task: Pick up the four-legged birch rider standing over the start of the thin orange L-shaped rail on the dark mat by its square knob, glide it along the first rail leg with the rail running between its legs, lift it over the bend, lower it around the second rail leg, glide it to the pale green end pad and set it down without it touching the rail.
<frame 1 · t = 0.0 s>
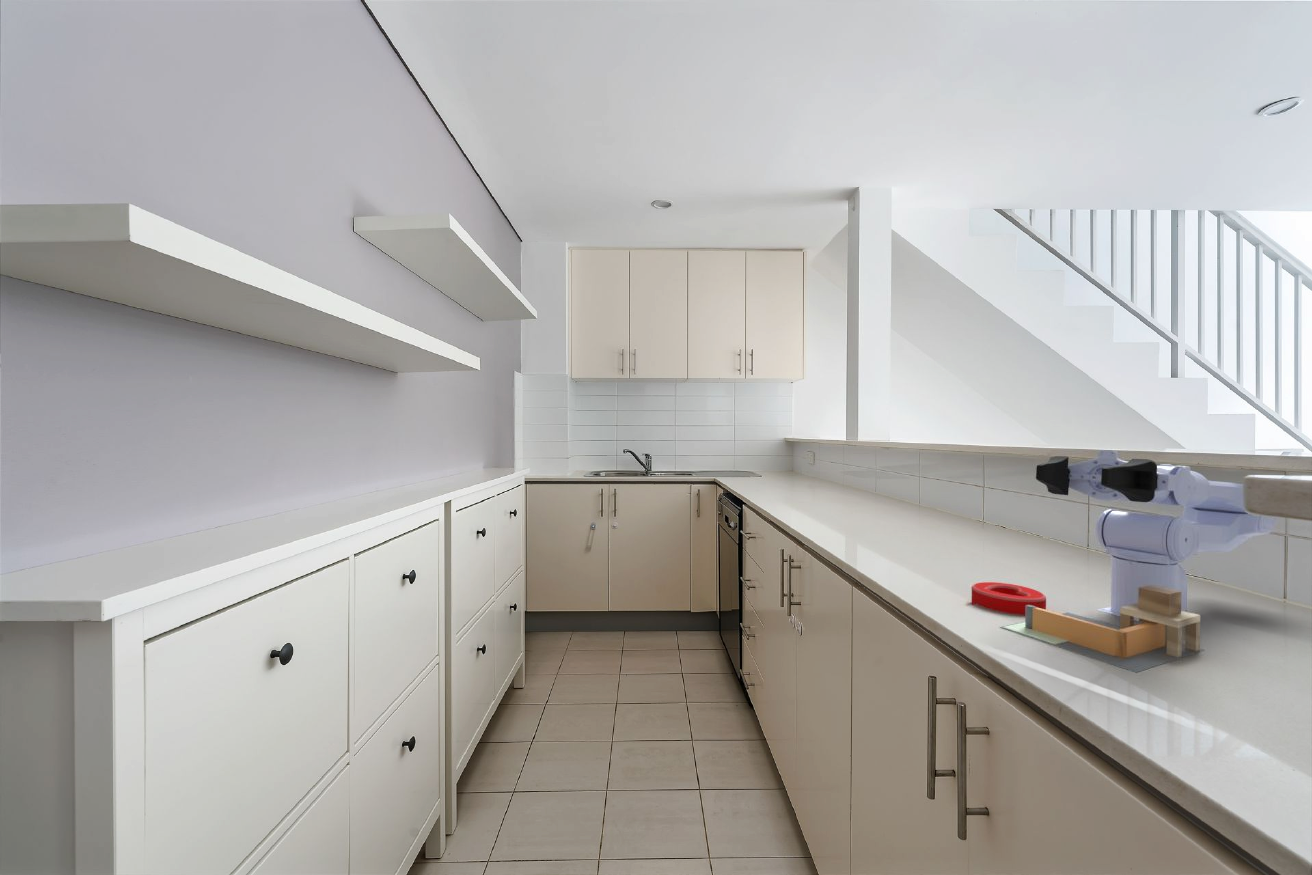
hand: (1070, 474, 70), 22 cm above the table, tool horizontal, fingers open, 7 cm apart
mat: (1096, 642, 68), on the table
decorative ornament: (1007, 611, 82), on the table
end pad: (1042, 636, 70), resting on mat
rail: (1120, 661, 62), resting on mat
rider: (1159, 645, 66), point 1 cm above the table, touching mat
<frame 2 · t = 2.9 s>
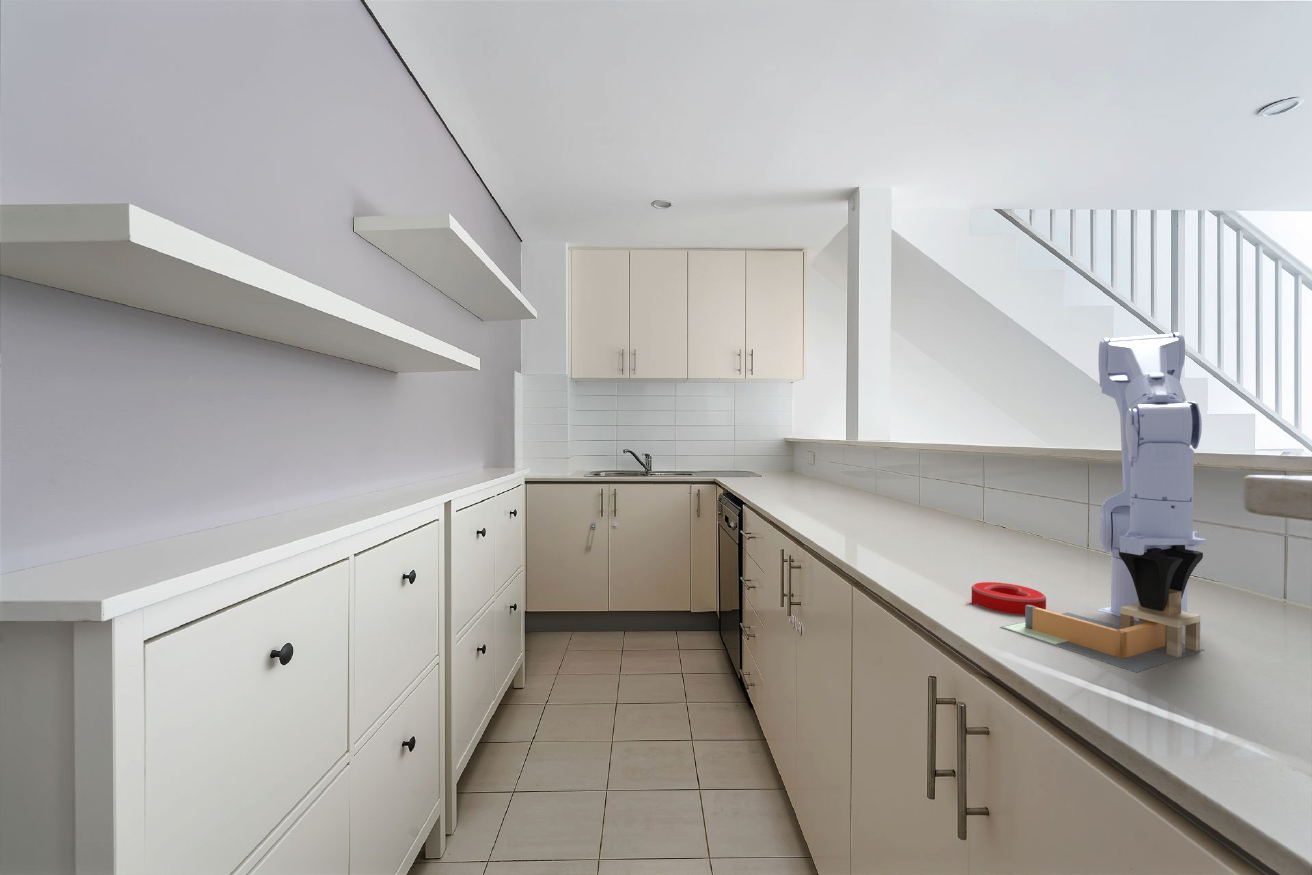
hand: (1159, 606, 66), 5 cm above the table, tool pointing down, fingers closed on rider, 3 cm apart
rider: (1159, 645, 66), point 1 cm above the table, touching gripper, mat
everything else where it was.
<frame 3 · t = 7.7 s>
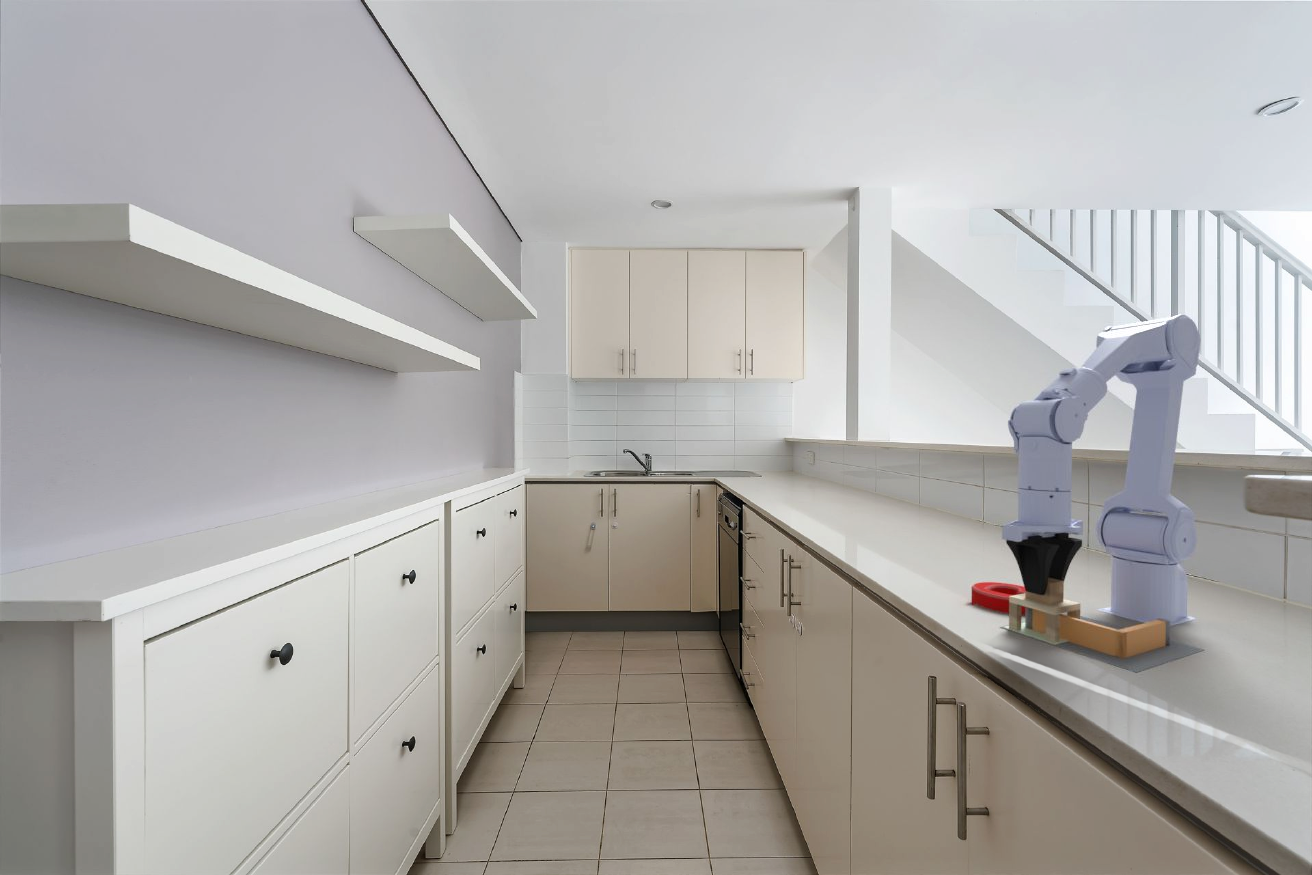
hand: (1042, 591, 70), 6 cm above the table, tool pointing down, fingers closed on rider, 3 cm apart
rider: (1043, 631, 70), point 1 cm above the table, touching end pad, gripper
everything else where it was.
when the fingers open (6 cm above the table, at t = 7.9 s): rider stays where it is, resting on end pad.
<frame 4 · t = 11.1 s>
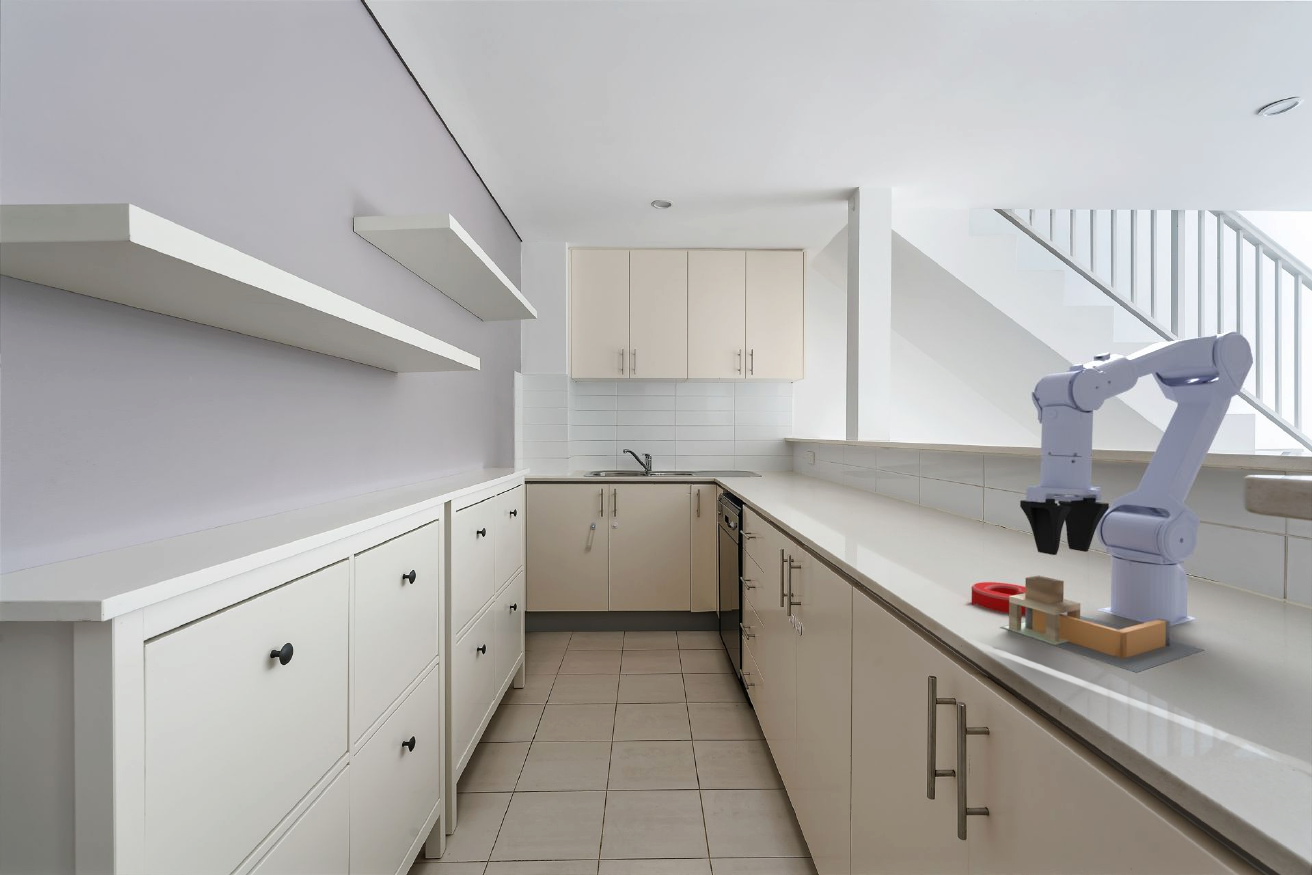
hand: (1063, 551, 75), 10 cm above the table, tool pointing down, fingers open, 7 cm apart
rider: (1043, 631, 70), point 1 cm above the table, touching end pad
everything else where it was.
at the end: rider 0.2 cm from the target spot, point 0.7 cm above the table; rider tilted 0°; rider touching end pad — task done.
